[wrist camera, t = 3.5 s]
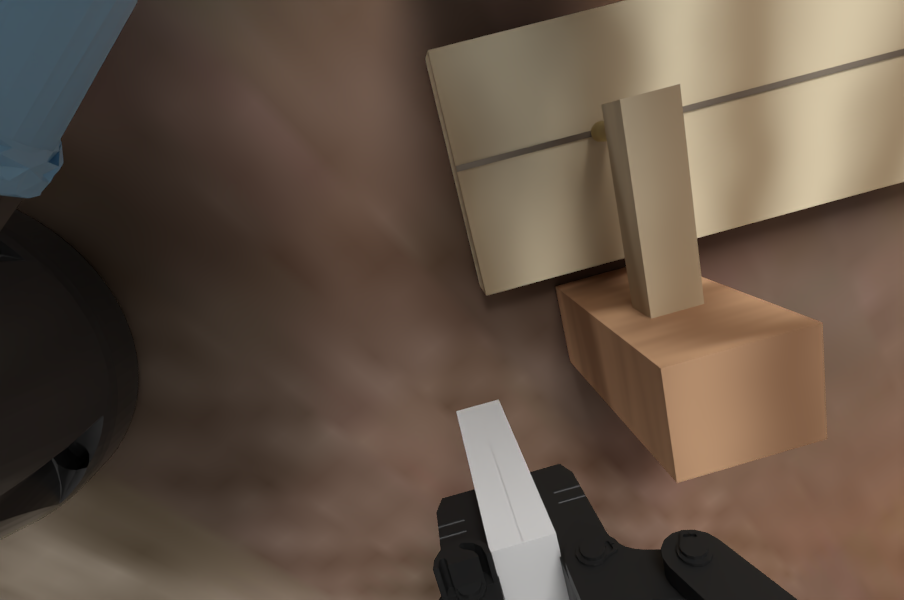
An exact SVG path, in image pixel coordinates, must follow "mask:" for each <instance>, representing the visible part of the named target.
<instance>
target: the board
mask: <svg viewBox="0 0 904 600" xmlns="http://www.w3.org/2000/svg"><path fill="white" fill-rule="evenodd" d="M425 61H426V65H427V69H428V74H429V78H430V82H431V86H432V90H433V94H434V98H435V103H436V107H437V111H438V115H439V119H440V123H441V127H442V132H443V136H444V140H445V144H446V148H447V152H448V156H449V161H450V165H451V169H452V173H453V177H454V181H455V185H456V189H457V194H458V198H459V202H460V206H461V210H462V214H463V218H464V223H465V227H466V231H467V235H468V239H469V243H470V247H471V252H472V256H473V260H474V264H475V268H476V272H477V276H478V281H479V285H480V287H481V288H482V290H483V291H484V293H485V294H486V296H487V295H491V294H495V293H498V292H502V291H506V290H509V289H513V288H517V287H520V286H524V285H528V284H531V283H535V282H539V281H542V280H546V279H550V278H553V277H557V276H561V275H564V274H568V273H572V272H575V271H579V270H583V269H586V268H590V267H594V266H597V265H601V264H604V263H608V262H612V261H615V260H619V259H623V258H625V256H624V250H623V243H622V237H621V230H620V224H619V217H618V211H617V204H616V198H615V191H614V185H613V178H612V172H611V165H610V159H609V152H608V146H607V141H605V142H597V141H595V140H594V139H593V138H592V135H591V129H592V127H593V125H594V124H595V123H596V122H599V121H603V113H602V107H601V104H605V103H609V102H612V101H616V100H620V99H624V98H628V97H631V96H635V95H639V94H643V93H647V92H651V91H655V90H658V89H662V88H666V87H670V86H674V85H678V84H680V88H681V97H682V106H683V115H684V124H685V133H686V142H687V151H688V160H689V169H690V178H691V188H692V197H693V206H694V215H695V224H696V233H697V238H700V237H703V236H707V235H711V234H714V233H718V232H722V231H725V230H729V229H733V228H736V227H740V226H744V225H747V224H751V223H755V222H758V221H762V220H766V219H769V218H773V217H776V216H780V215H784V214H787V213H791V212H795V211H798V210H802V209H806V208H809V207H813V206H817V205H820V204H824V203H828V202H831V201H835V200H839V199H842V198H846V197H850V196H853V195H857V194H861V193H864V192H868V191H872V190H875V189H879V188H883V187H886V186H890V185H894V184H897V183H901V182H904V0H625V1H621V2H617V3H613V4H609V5H605V6H601V7H597V8H593V9H589V10H585V11H582V12H578V13H574V14H570V15H566V16H562V17H558V18H554V19H550V20H546V21H542V22H538V23H534V24H530V25H526V26H522V27H518V28H514V29H510V30H506V31H502V32H498V33H494V34H490V35H486V36H482V37H478V38H474V39H470V40H467V41H463V42H459V43H455V44H451V45H447V46H443V47H439V48H435V49H431V50H428V51H427V55H426V58H425Z"/></svg>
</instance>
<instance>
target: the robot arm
mask: <svg viewBox="0 0 904 600" xmlns="http://www.w3.org/2000/svg"><path fill="white" fill-rule="evenodd" d="M137 1H138V0H0V540H1V539H3V538H5V537H7V536H9V535H11V534H13V533H15V532H17V531H19V530H21V529H23V528H25V527H26V526H28V525H30V524H32V523H34V522H36V521H38V520H40V519H41V518H43V517H45V516H46V515H48V514H49V513H51V512H52V511H54V510H55V509H57V508H58V507H59V506H61V505H62V504H64V503H65V502H66V501H67V500H68V499H70V498H71V497H72V496H73V495H74V494H75V493H77V492H78V491H79V490H80V489H81V488H82V487H83V486H84V485H85V484H86V482H87V481H88V480H89V479H90V478H91V477H92V476H93V475H94V474H95V473H96V472H97V471H98V470H99V469H100V468H101V467H102V466H103V465H104V464H105V462H106V461H107V460H108V459H109V458H110V457H111V456H112V454H113V453H114V452H115V450H116V449H117V447H118V446H119V444H120V443H121V441H122V439H123V438H124V436H125V434H126V432H127V430H128V427H129V425H130V422H131V420H132V417H133V413H134V410H135V405H136V400H137V393H138V363H137V356H136V350H135V346H134V342H133V338H132V335H131V332H130V329H129V326H128V324H127V321H126V319H125V317H124V314H123V312H122V311H121V309H120V307H119V305H118V303H117V301H116V299H115V298H114V296H113V294H112V293H111V291H110V290H109V288H108V287H107V285H106V284H105V283H104V281H103V280H102V279H101V277H100V276H99V275H98V274H97V272H96V271H95V270H94V269H93V268H92V267H91V265H90V264H89V263H88V262H87V261H86V260H85V259H84V258H83V257H82V256H81V255H80V254H79V253H78V252H77V251H76V250H75V249H74V248H73V247H71V246H70V245H69V244H68V243H67V242H65V241H64V240H63V239H62V238H61V237H59V236H58V235H56V234H55V233H54V232H52V231H51V230H50V229H48V228H47V227H45V226H44V225H42V224H41V223H39V222H38V221H36V220H34V219H33V218H31V217H29V216H27V215H25V214H24V213H22V212H20V211H18V210H16V208H17V206H18V205H19V204H20V202H21V201H22V199H23V198H32V197H36V196H39V195H41V192H42V191H43V190H44V189H45V188H46V187H47V185H48V184H49V183H50V182H51V180H52V178H53V177H54V175H55V174H56V173H57V172H58V171H59V170H60V168H61V166H62V165H63V163H64V161H63V151H62V142H61V137H62V135H63V134H64V132H65V130H66V128H67V126H68V125H69V123H70V121H71V119H72V118H73V116H74V114H75V112H76V110H77V109H78V107H79V105H80V103H81V102H82V100H83V98H84V96H85V94H86V93H87V91H88V89H89V87H90V86H91V84H92V82H93V80H94V78H95V77H96V75H97V73H98V71H99V69H100V68H101V66H102V64H103V62H104V61H105V59H106V57H107V55H108V53H109V52H110V50H111V48H112V46H113V45H114V43H115V41H116V39H117V37H118V36H119V34H120V32H121V30H122V29H123V27H124V25H125V23H126V21H127V20H128V18H129V16H130V14H131V12H132V11H133V9H134V7H135V5H136V3H137ZM456 412H457V417H458V421H459V425H460V429H461V433H462V437H463V442H464V446H465V450H466V454H467V458H468V463H469V467H470V471H471V475H472V479H473V484H474V488H475V489H474V490H471V491H467V492H464V493H460V494H456V495H453V496H449V497H446V498H442V500H441V503H440V505H439V508H438V510H437V520H438V527H439V537H440V547H441V551H440V552H439V554H438V555H437V557H436V558H435V560H434V566H433V571H434V574H435V577H436V581H437V584H438V587H439V590H440V593H441V597H440V599H439V600H797V599H796V598H794V597H793V596H792V595H791V594H789V593H788V592H787V591H785V590H784V589H783V588H781V587H780V586H779V585H778V584H776V583H775V582H774V581H772V580H771V579H770V578H768V577H767V576H766V575H765V574H763V573H762V572H761V571H759V570H758V569H757V568H755V567H754V566H753V565H751V564H750V563H749V562H748V561H746V560H745V559H744V558H742V557H741V556H740V555H738V554H737V553H736V552H735V551H733V550H732V549H731V548H729V547H728V546H727V545H725V544H724V543H723V542H721V541H720V540H719V539H717V538H715V537H714V536H712V535H710V534H708V533H705V532H701V531H697V530H681V531H678V532H675V533H672V534H671V535H669V536H668V537H667V538H666V539H665V540H664V542H663V544H662V547H661V550H641V549H632V548H629V547H625V546H623V545H621V544H619V543H618V542H617V541H616V540H615V539H614V538H612V537H610V536H609V535H608V534H607V532H606V531H605V529H604V527H603V525H602V524H601V522H600V520H599V518H598V517H597V515H596V513H595V511H594V510H593V508H592V506H591V504H590V502H589V501H588V499H587V497H586V496H585V494H584V492H583V490H582V488H581V487H580V485H579V483H578V481H577V480H576V478H575V476H574V474H573V473H572V472H571V471H570V470H568V469H567V468H565V467H564V466H562V465H561V464H557V465H554V466H550V467H547V468H543V469H540V470H536V471H533V472H529V469H528V467H527V465H526V462H525V460H524V458H523V455H522V453H521V451H520V448H519V446H518V444H517V441H516V439H515V437H514V434H513V432H512V430H511V427H510V425H509V423H508V420H507V418H506V416H505V413H504V411H503V409H502V406H501V404H500V402H499V400H495V401H491V402H488V403H484V404H481V405H477V406H474V407H470V408H466V409H463V410H459V411H456Z"/></svg>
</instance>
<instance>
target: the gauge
mask: <svg viewBox="0 0 904 600" xmlns="http://www.w3.org/2000/svg"><path fill="white" fill-rule="evenodd" d="M601 107H602V113H603V121H599V122H596V123H595V124H594V125H593V127H592V129H591V135H592V138H593V139H594V140H595V141H597V142H605V141H607V146H608V152H609V159H610V165H611V172H612V178H613V185H614V191H615V198H616V204H617V211H618V217H619V224H620V230H621V237H622V243H623V250H624V256H625V263H626V267H624V268H620V269H617V270H613V271H609V272H606V273H602V274H598V275H595V276H591V277H587V278H584V279H580V280H576V281H573V282H569V283H566V284H562V285H558V286H555V288H556V293H557V298H558V303H559V308H560V313H561V318H562V323H563V328H564V333H565V339H566V344H567V349H568V354H569V359H570V362H571V363H572V364H573V365H574V367H575V368H576V369H577V370H578V371H579V372H580V373H581V374H582V376H583V377H584V378H585V379H586V380H587V381H588V382H589V384H590V385H591V386H592V387H593V388H594V389H595V390H596V392H597V393H598V394H599V395H600V396H601V397H602V398H603V399H604V401H605V402H606V403H607V404H608V405H609V406H610V407H611V409H612V410H613V411H614V412H615V413H616V414H617V415H618V417H619V418H620V419H621V420H622V421H623V422H624V423H625V424H626V426H627V427H628V428H629V429H630V430H631V431H632V432H633V434H634V435H635V436H636V437H637V438H638V439H639V440H640V442H641V443H642V444H643V445H644V446H645V447H646V448H647V449H648V451H649V452H650V453H651V454H652V455H653V456H654V457H655V459H656V460H657V461H658V462H659V463H660V464H661V465H662V467H663V468H664V469H665V470H666V471H667V472H668V473H669V474H670V476H671V477H672V478H673V479H674V480H675V481H676V482H677V483H678V482H682V481H685V480H689V479H692V478H696V477H699V476H702V475H706V474H709V473H713V472H716V471H719V470H723V469H726V468H730V467H733V466H736V465H740V464H743V463H747V462H750V461H754V460H757V459H760V458H764V457H767V456H771V455H774V454H777V453H781V452H784V451H788V450H791V449H795V448H798V447H801V446H805V445H808V444H812V443H815V442H818V441H822V440H825V439H827V421H826V396H825V371H824V347H823V323H822V322H820V321H817V320H814V319H812V318H809V317H806V316H804V315H801V314H799V313H796V312H793V311H791V310H788V309H785V308H783V307H780V306H777V305H775V304H772V303H769V302H767V301H764V300H762V299H759V298H756V297H754V296H751V295H748V294H746V293H743V292H740V291H738V290H735V289H732V288H730V287H727V286H725V285H722V284H719V283H717V282H714V281H711V280H709V279H706V278H703V277H701V269H700V260H699V251H698V242H697V233H696V224H695V215H694V206H693V197H692V188H691V178H690V169H689V160H688V151H687V142H686V133H685V124H684V115H683V106H682V97H681V88H680V84H678V85H674V86H670V87H666V88H662V89H658V90H655V91H651V92H647V93H643V94H639V95H635V96H631V97H628V98H624V99H620V100H616V101H612V102H609V103H605V104H601Z"/></svg>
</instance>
